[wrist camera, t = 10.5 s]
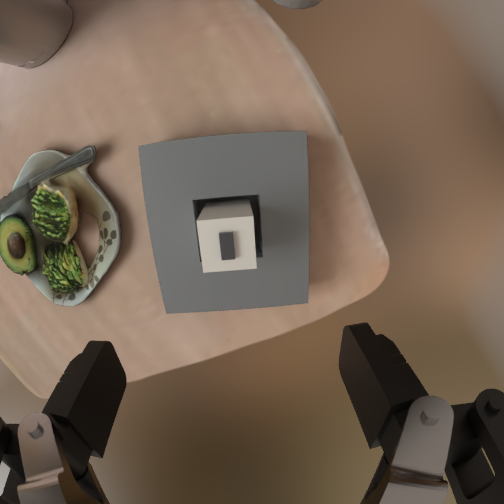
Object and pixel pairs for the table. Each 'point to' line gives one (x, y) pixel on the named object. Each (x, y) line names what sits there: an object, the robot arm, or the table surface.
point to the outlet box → (224, 189)
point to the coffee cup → (297, 3)
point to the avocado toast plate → (57, 225)
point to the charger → (227, 236)
